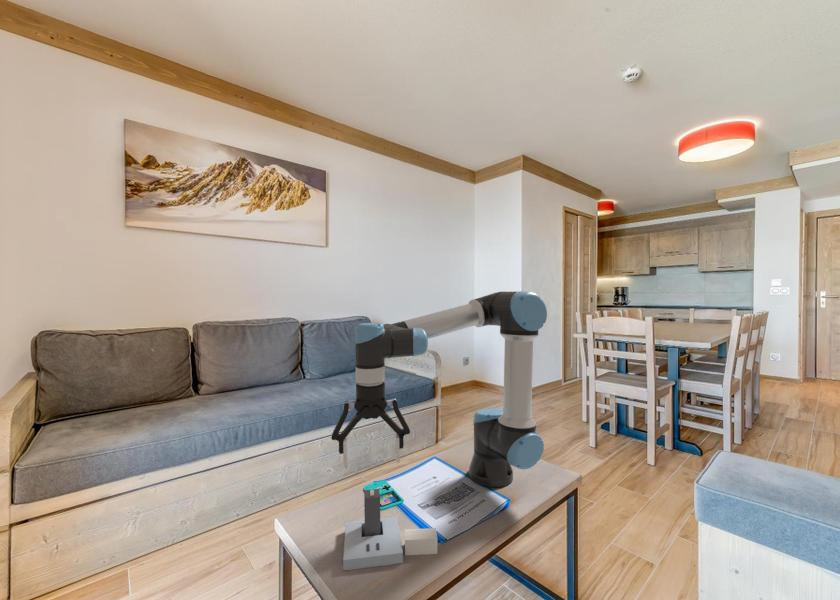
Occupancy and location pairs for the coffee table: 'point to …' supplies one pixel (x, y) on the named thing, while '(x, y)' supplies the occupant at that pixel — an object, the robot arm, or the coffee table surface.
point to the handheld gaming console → (385, 493)
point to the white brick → (420, 541)
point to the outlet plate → (372, 545)
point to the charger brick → (372, 512)
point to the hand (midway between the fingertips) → (371, 462)
